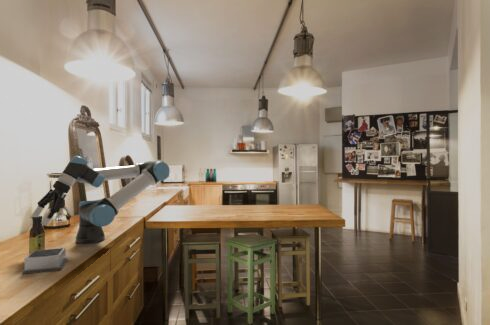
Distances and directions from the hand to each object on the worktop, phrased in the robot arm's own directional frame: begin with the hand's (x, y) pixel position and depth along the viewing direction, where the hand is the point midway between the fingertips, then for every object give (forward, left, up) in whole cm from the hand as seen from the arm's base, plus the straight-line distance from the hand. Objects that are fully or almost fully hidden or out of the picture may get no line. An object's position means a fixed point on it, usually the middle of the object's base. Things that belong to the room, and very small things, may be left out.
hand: (37, 221), depth 154 cm
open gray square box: (+1, +21, -17) cm, 27 cm away
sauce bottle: (+1, +4, -17) cm, 17 cm away
